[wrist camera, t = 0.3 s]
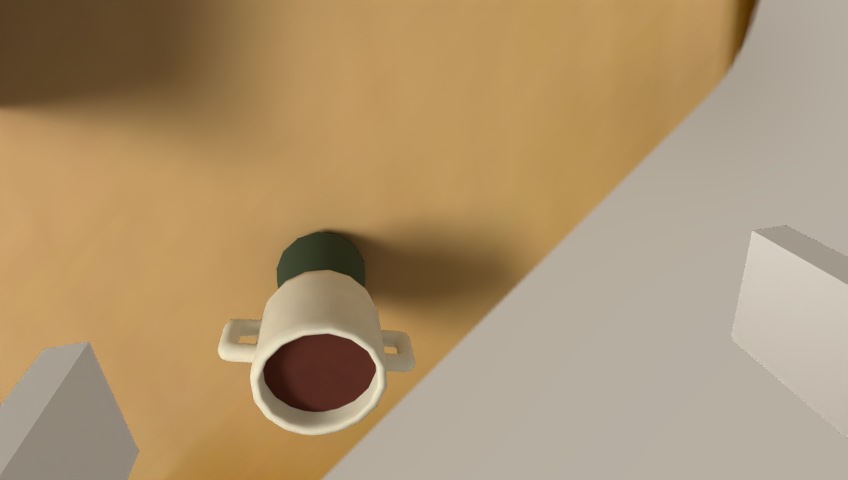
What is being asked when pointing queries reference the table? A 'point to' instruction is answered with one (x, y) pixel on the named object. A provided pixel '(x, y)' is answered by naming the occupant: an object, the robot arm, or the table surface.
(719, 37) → the table surface
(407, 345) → the character mug
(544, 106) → the table surface
